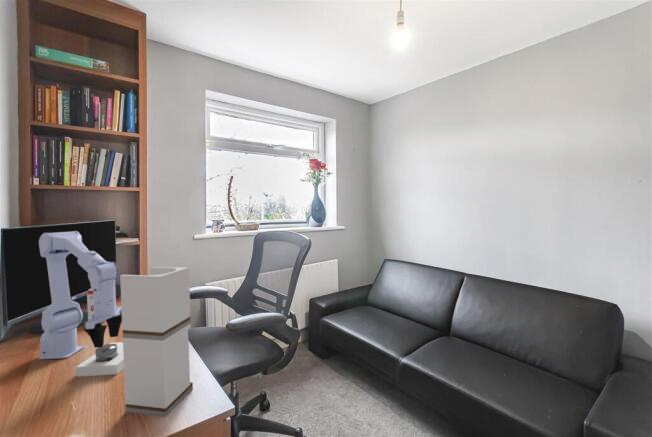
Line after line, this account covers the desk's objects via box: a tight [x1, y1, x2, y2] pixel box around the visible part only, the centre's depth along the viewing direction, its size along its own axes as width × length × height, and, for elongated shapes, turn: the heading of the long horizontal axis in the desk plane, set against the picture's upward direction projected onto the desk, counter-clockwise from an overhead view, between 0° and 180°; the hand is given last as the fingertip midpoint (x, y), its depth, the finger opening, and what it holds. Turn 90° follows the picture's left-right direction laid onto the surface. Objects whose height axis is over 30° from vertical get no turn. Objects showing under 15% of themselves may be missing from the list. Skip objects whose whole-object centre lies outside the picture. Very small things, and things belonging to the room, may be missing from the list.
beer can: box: [86, 287, 105, 325], centre depth 130 cm, size 6×6×16 cm
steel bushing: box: [94, 343, 117, 362], centre depth 93 cm, size 6×6×6 cm
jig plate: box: [75, 341, 124, 378], centre depth 96 cm, size 12×16×3 cm
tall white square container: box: [119, 266, 194, 418], centre depth 76 cm, size 11×11×35 cm
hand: (106, 341), depth 93 cm, fingers open, 7 cm apart
